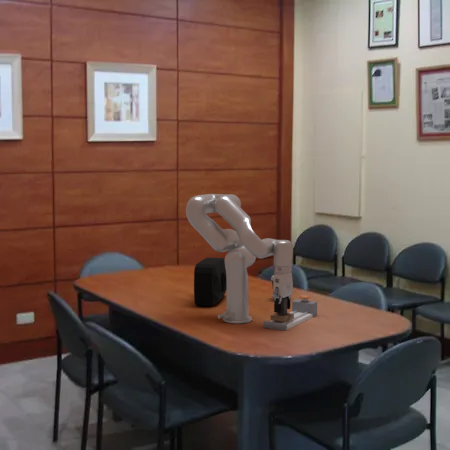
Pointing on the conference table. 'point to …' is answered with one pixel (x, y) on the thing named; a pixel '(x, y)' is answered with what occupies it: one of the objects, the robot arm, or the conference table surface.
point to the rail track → (295, 315)
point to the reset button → (304, 297)
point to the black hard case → (209, 281)
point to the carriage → (282, 313)
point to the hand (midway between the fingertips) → (282, 310)
